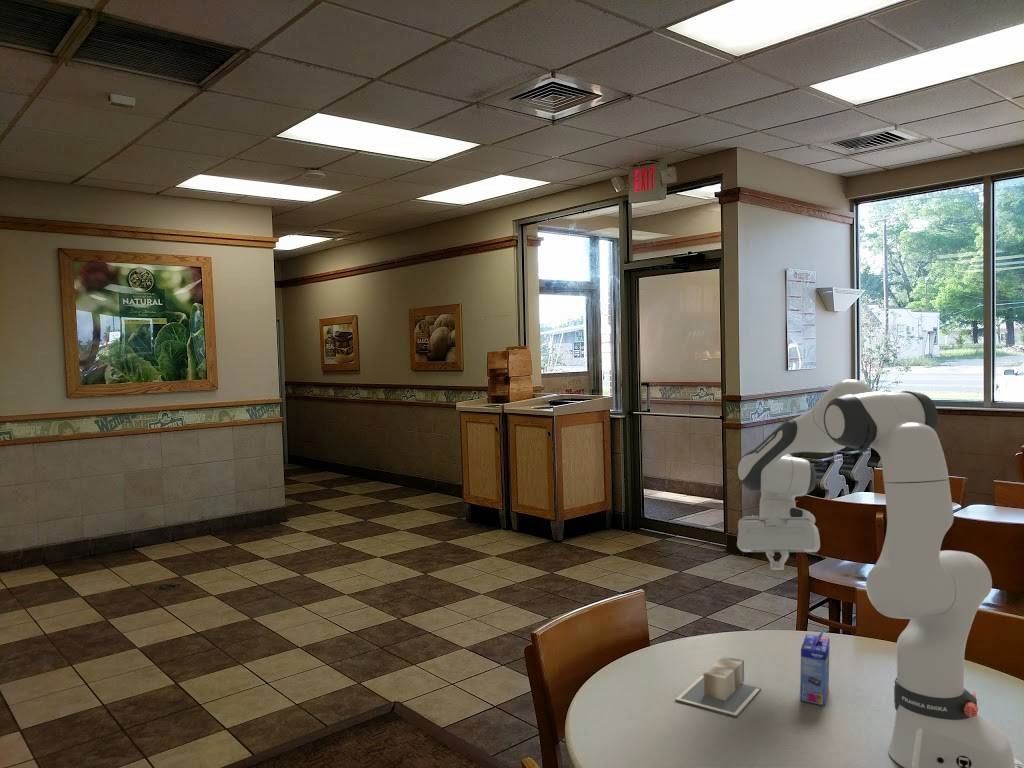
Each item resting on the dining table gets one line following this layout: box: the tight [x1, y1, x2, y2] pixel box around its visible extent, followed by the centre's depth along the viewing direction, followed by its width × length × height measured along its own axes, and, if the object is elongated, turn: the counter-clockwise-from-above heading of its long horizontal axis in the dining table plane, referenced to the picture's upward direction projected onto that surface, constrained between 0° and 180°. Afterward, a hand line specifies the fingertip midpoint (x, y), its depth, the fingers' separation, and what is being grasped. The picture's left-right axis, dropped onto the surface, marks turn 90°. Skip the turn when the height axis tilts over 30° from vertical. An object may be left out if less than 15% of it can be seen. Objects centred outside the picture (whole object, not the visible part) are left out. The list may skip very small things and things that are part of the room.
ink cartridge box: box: [799, 630, 830, 706], centre depth 169 cm, size 10×6×14 cm, turn 152°
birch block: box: [703, 655, 745, 701], centre depth 173 cm, size 5×5×12 cm
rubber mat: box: [674, 673, 762, 718], centre depth 170 cm, size 14×16×1 cm
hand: (777, 569), depth 187 cm, fingers closed
